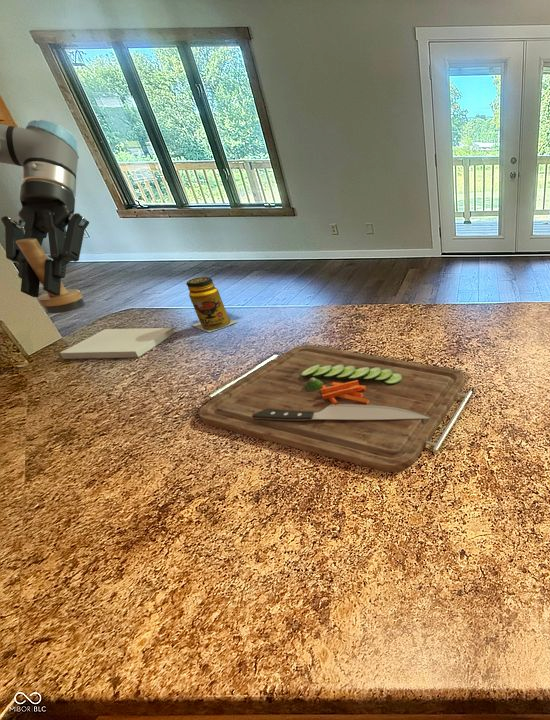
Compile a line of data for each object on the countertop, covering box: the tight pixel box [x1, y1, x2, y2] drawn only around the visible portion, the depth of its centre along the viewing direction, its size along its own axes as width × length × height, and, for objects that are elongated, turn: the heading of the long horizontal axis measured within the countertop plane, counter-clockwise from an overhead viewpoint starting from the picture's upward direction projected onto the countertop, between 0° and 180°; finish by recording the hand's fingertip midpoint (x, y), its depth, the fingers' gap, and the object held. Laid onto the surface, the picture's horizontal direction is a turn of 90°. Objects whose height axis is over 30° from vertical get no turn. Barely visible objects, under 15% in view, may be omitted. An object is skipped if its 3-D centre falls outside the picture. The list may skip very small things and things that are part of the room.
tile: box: [59, 327, 175, 360], centre depth 88 cm, size 16×12×2 cm
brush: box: [16, 238, 86, 314], centre depth 76 cm, size 6×6×14 cm
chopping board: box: [198, 344, 473, 473], centre depth 69 cm, size 45×27×3 cm, turn 72°
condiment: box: [186, 276, 239, 333], centre depth 95 cm, size 7×8×12 cm
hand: (40, 293), depth 74 cm, fingers closed on brush, 3 cm apart
